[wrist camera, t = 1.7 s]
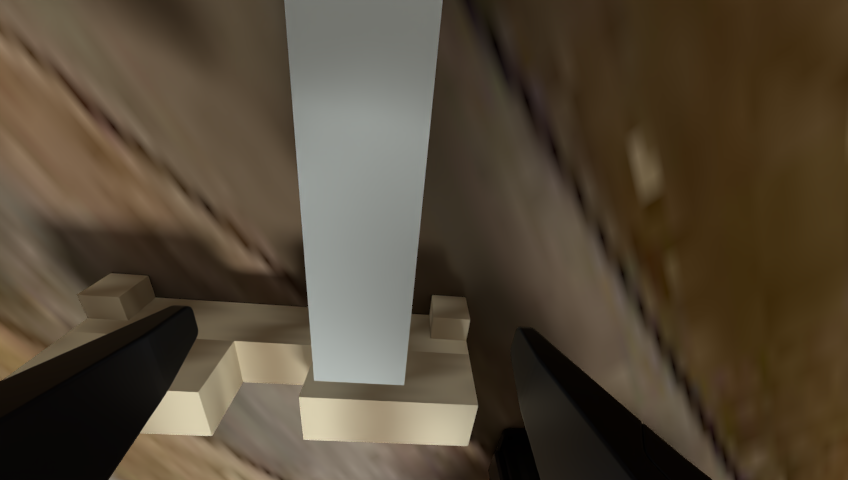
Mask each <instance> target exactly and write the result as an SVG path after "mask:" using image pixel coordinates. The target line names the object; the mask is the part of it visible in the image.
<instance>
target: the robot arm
mask: <svg viewBox="0 0 848 480" xmlns="http://www.w3.org/2000/svg"><path fill="white" fill-rule="evenodd" d="M197 336H198V326H197V323H196V319H195V315H194V312H193V309H192V308H191V307H190V306H186V305H172V306H169V307H167V308H165V309H163V310H160V311H158V312H156V313H154V314H151V315H149V316H147V317H145V318H142V319H140V320H138V321H135V322H133V323H131V324H129V325H126V326H124V327H122V328H120V329H117V330H115V331H113V332H111V333H108V334H106V335H104V336H101V337H99V338H97V339H95V340H92V341H90V342H88V343H86V344H83V345H81V346H79V347H77V348H74V349H72V350H70V351H67V352H65V353H63V354H61V355H58V356H56V357H54V358H52V359H49V360H47V361H45V362H43V363H40V364H38V365H36V366H33V367H31V368H29V369H27V370H24V371H22V372H20V373H18V374H15V375H13V376H11V377H9V378H6V379H4V380H2V381H0V480H109V478H110V477H111V475H112V474H113V472H114V471H115V469H116V468H117V466H118V465H119V463H120V462H121V460H122V459H123V457H124V456H125V454H126V453H127V451H128V450H129V448H130V447H131V445H132V444H133V442H134V441H135V439H136V438H137V436H138V435H139V434H140V432H141V431H142V429H143V428H144V426H145V425H146V423H147V422H148V420H149V419H150V417H151V416H152V414H153V413H154V411H155V410H156V408H157V407H158V405H159V404H160V402H161V401H162V399H163V398H164V396H165V395H166V393H167V391H168V390H169V388H170V386H171V385H172V383H173V381H174V379H175V377H176V376H177V374H178V372H179V370H180V368H181V366H182V364H183V363H184V361H185V359H186V357H187V355H188V353H189V351H190V350H191V348H192V346H193V344H194V342H195V340H196V338H197ZM511 361H512V366H513V372H514V378H515V383H516V389H517V395H518V400H519V405H520V410H521V413H522V417H523V421H524V424H525V427H526V430H524V429H506V430H504V431H503V433H502V435H501V439H500V442H499V445H498V448H497V450H496V451H495V453H494V455H493V458H492V461H491V464H490V467H489V470H488V471H489V477H490V480H712V479H711V478H709V477H708V476H707V475H706V474H704V473H703V472H702V471H701V470H699V469H698V468H697V467H695V466H694V465H693V464H692V463H690V462H689V461H688V460H687V459H685V458H684V457H683V456H682V455H680V454H679V453H678V452H677V451H676V450H674V449H673V448H672V447H671V446H670V445H668V444H667V443H666V442H665V441H664V440H662V439H661V438H660V437H659V436H658V435H657V434H655V433H654V432H653V431H652V430H651V429H650V428H648V427H647V426H646V425H645V424H642V423H641V421H640V420H639V419H638V418H637V417H636V416H634V415H633V414H632V413H631V412H630V411H629V410H627V409H626V408H625V407H624V406H623V405H622V404H620V403H619V402H618V401H617V400H616V399H615V398H614V397H612V396H611V395H610V394H609V393H608V392H607V391H605V390H604V389H603V388H602V387H601V386H600V385H598V384H597V383H596V382H595V381H594V380H593V379H591V378H590V377H589V376H588V375H587V374H586V373H585V372H583V371H582V370H581V369H580V368H579V367H578V366H576V365H575V364H574V363H573V362H572V361H571V360H569V359H568V358H567V357H566V356H565V355H564V354H562V353H561V352H560V351H559V350H558V349H557V348H556V347H554V346H553V345H552V344H551V343H550V342H549V341H547V340H546V339H545V338H544V337H543V336H542V335H540V334H539V333H538V332H537V331H536V330H535V329H533V328H531V327H518V328H517V329H516V332H515V335H514V339H513V342H512V346H511Z"/></svg>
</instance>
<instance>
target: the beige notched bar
mask: <svg viewBox="0 0 848 480" xmlns="http://www.w3.org/2000/svg"><path fill="white" fill-rule="evenodd" d="M77 296H78V298H79V301H80V303H81V305H82V307H83V309H84V311H85V313H86V315H87V319H86V320H85V321H83V322H82V323H80V324H79V325H78V326H76V327H75V328H74V329H72V330H71V331H69V332H68V333H67V334H65V335H64V336H63V337H61V338H60V339H58V340H57V341H56V342H54V343H53V344H52V345H50V346H49V347H47V348H46V349H45V350H43V351H42V352H41V353H39V354H38V355H36V356H35V357H34V358H32V359H31V360H30V361H28V362H27V363H25V364H24V365H23V366H21V367H20V368H19V369H17V370H16V371H14V372H13V373H12V374H10V375H9V376H8V377H6V378H9V377H11V376H13V375H15V374H18V373H20V372H22V371H24V370H27V369H29V368H31V367H33V366H36V365H38V364H40V363H43V362H45V361H47V360H49V359H52V358H54V357H56V356H58V355H61V354H63V353H65V352H67V351H70V350H72V349H74V348H77V347H79V346H81V345H83V344H86V343H88V342H90V341H92V340H95V339H97V338H99V337H101V336H104V335H106V334H108V333H111V332H113V331H115V330H117V329H120V328H122V327H124V326H126V325H129V324H131V323H133V322H135V321H138V320H140V319H142V318H145V317H147V316H149V315H151V314H154V313H156V312H158V311H160V310H163V309H165V308H167V307H169V306H172V305H186V306H190V307H191V308H192V309H193V312H194V315H195V319H196V323H197V326H198V336H197V338H196V340H195V342H194V344H193V346H192V348H191V350H190V351H189V353H188V355H187V357H186V359H185V361H184V363H183V364H182V366H181V368H180V370H179V372H178V374H177V376H176V377H175V379H174V381H173V383H172V385H171V386H170V388H169V390H168V391H167V393H166V395H165V396H164V398H163V399H162V401H161V402H160V404H159V405H158V407H157V408H156V410H155V411H154V413H153V414H152V416H151V417H150V419H149V420H148V422H147V423H146V425H145V426H144V428H143V429H142V431H141V432H140V433H147V434H173V435H198V436H212V435H213V434H214V432H215V430H216V428H217V427H218V425H219V423H220V421H221V420H222V418H223V416H224V414H225V413H226V411H227V409H228V407H229V406H230V404H231V402H232V400H233V399H234V397H235V395H236V393H237V392H238V390H239V388H240V387H241V385H242V383H243V382H254V383H274V384H294V385H303V387H302V390H301V393H300V395H299V403H300V412H301V421H302V430H303V439H304V440H325V441H350V442H376V443H401V444H427V445H452V446H468V443H469V440H470V436H471V432H472V428H473V424H474V420H475V416H476V412H477V409H478V401H477V396H476V391H475V385H474V380H473V375H472V369H471V364H470V359H469V353H468V348H467V343H466V339H467V334H468V329H469V324H470V316H469V311H468V307H467V302H466V298H465V297H455V296H440V295H432V299H431V306H430V314H429V315H422V314H411V322H410V332H409V342H408V352H407V362H406V372H405V382H404V385H387V384H368V383H348V382H328V381H314V373H313V360H312V347H311V335H310V322H309V309H308V307H297V306H281V305H266V304H250V303H234V302H219V301H203V300H187V299H172V298H156V297H155V294H154V291H153V288H152V285H151V282H150V279H149V276H145V275H130V274H115V273H110V274H109V275H107V276H105V277H104V278H102V279H101V280H99V281H98V282H96V283H94V284H93V285H91V286H90V287H88V288H87V289H85V290H83V291H82V292H80V293H79V294H77ZM6 378H5V379H6ZM3 380H4V379H3Z"/></svg>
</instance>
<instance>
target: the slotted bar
mask: <svg viewBox="0 0 848 480" xmlns="http://www.w3.org/2000/svg"><path fill="white" fill-rule="evenodd" d="M442 3H443V0H284V4H285V17H286V29H287V42H288V55H289V67H290V80H291V93H292V106H293V118H294V131H295V144H296V157H297V169H298V182H299V195H300V207H301V220H302V233H303V246H304V258H305V271H306V284H307V297H308V309H309V322H310V335H311V347H312V360H313V373H314V381H328V382H348V383H368V384H387V385H404V382H405V372H406V362H407V352H408V342H409V332H410V322H411V312H412V302H413V292H414V282H415V272H416V262H417V252H418V242H419V232H420V222H421V212H422V202H423V192H424V182H425V172H426V162H427V152H428V142H429V133H430V123H431V113H432V103H433V93H434V83H435V73H436V63H437V53H438V43H439V33H440V23H441V13H442Z"/></svg>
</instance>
